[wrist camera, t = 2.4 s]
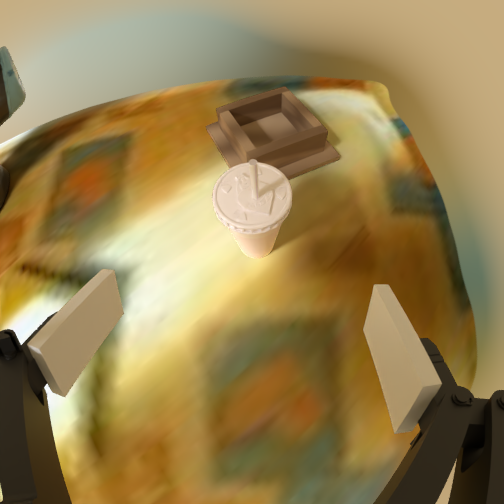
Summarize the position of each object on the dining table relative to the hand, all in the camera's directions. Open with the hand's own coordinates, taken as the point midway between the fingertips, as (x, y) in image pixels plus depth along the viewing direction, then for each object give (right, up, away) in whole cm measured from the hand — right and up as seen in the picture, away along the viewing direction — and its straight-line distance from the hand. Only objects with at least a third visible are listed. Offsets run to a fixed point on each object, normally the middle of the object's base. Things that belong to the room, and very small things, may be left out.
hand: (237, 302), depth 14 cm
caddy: (+3, +17, +23) cm, 29 cm away
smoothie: (+1, +3, +18) cm, 18 cm away
